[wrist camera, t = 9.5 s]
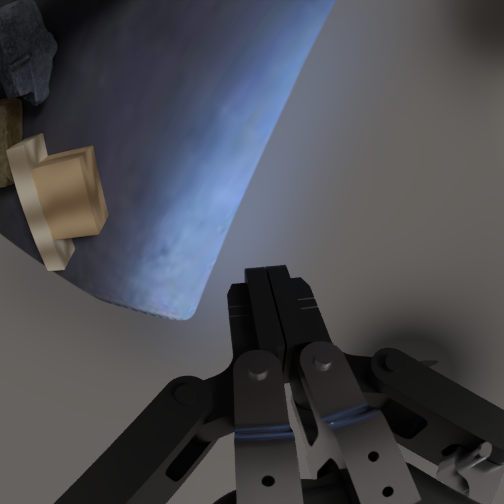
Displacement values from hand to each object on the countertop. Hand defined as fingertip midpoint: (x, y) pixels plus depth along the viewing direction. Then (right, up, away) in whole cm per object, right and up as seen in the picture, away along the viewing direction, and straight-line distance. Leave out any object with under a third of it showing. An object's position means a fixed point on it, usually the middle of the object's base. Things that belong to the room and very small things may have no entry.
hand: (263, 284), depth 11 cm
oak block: (-23, +10, +23) cm, 34 cm away
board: (-28, +9, +23) cm, 37 cm away
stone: (-25, +25, +11) cm, 38 cm away
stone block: (-33, +17, +17) cm, 40 cm away
